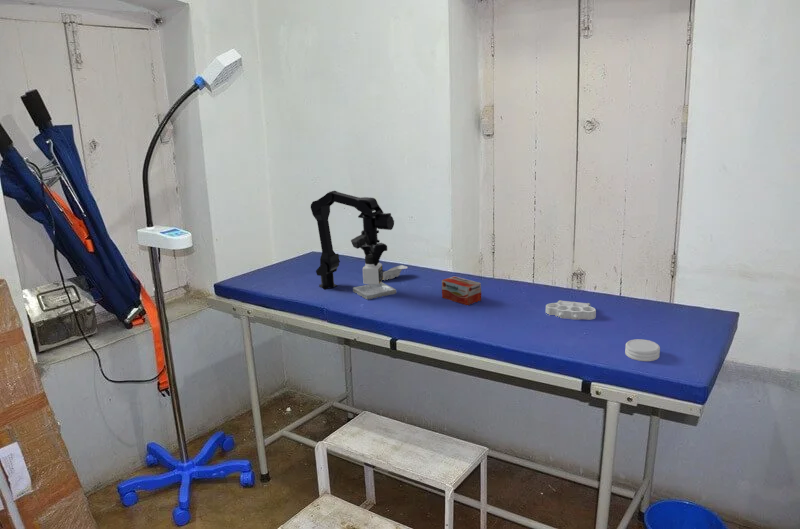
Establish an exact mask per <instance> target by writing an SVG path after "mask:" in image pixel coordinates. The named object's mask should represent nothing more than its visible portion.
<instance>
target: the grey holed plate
mask: <svg viewBox="0 0 800 529" xmlns="http://www.w3.org/2000/svg"><path fill="white" fill-rule="evenodd" d="M596 311H597V310H596V308H595V307H594V306H593V307H592V306H591V303H589V302H587V303H586V302H576V301H568V300H562V299H560V300H558V301H557V302H551V303H547V304H545V314H546V313H547V314H549V315H548V316H550V315H555V316H554V317H557V316H558V317H557V318H559V317H560V319H568V320H588V321H589V320H590V321H591V320H594V319H596V316H597V312H596ZM547 314H546V315H547Z"/></svg>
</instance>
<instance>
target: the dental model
mask: <svg viewBox="0 0 800 529" xmlns="http://www.w3.org/2000/svg"><path fill="white" fill-rule="evenodd" d="M379 264H382V263H381V262H379ZM405 269H408V266H406V265H403V264H401V265H397V266H394V267H391V268H390V269H387V270H385V271H383V280H384V281H386V280H387V281H389V280H392V279H395V277H396V278H398V277H400V275H401V272H402V270H405ZM388 279H389V280H388Z"/></svg>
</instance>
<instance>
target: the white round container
mask: <svg viewBox="0 0 800 529" xmlns="http://www.w3.org/2000/svg"><path fill="white" fill-rule="evenodd" d="M624 349H625V351H624V355H625V356H626V357H628V358H629V359H632V360H634V361H639V362H653V361H657V360H659V358H660V357H661V356H660V353H661V351H660V350H661V347H660V345H659V344H658V343H657V342H655V341H653V340H649V339H638V338H636V339H630V340H628V341H627V342H626V343H625V348H624Z"/></svg>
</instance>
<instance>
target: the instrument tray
mask: <svg viewBox="0 0 800 529" xmlns="http://www.w3.org/2000/svg"><path fill="white" fill-rule="evenodd" d="M352 292H353V293H355V294H356V293H357V295H358V296H359V297H361V296H362V297H361V298H363V299H365V300H366V299H367V301H369V300H373V298H374V299H377V297H378V298H382V296H383V297H386V296H392V295H395V294H397V289H396V288H394V287H392V286H390V285H388V284H387V283H384V281H383V282H382V281H381V283H380V284H363V285H360V286H355V287H352ZM368 299H369V300H368Z"/></svg>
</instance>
